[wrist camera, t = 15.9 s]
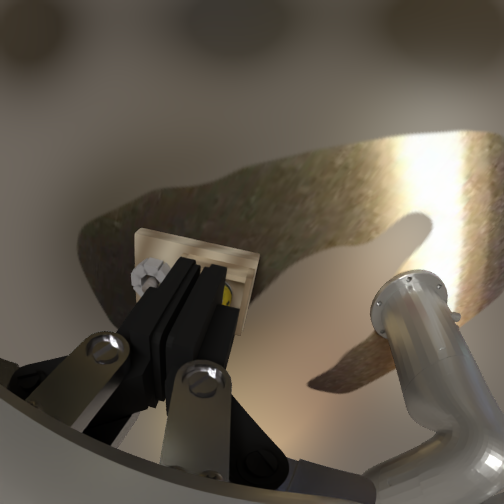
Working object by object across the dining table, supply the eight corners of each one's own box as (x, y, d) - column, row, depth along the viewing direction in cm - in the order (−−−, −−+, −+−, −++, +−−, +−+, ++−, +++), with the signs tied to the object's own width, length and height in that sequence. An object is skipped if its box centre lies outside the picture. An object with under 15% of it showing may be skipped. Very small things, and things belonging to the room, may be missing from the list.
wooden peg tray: (260, 254, 40) (255, 275, 35) (245, 322, 46) (239, 347, 41) (141, 227, 41) (122, 244, 36) (141, 295, 46) (127, 316, 41)
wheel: (177, 263, 40) (171, 271, 38) (175, 299, 43) (170, 307, 41) (137, 254, 40) (130, 260, 38) (138, 289, 43) (132, 296, 41)
